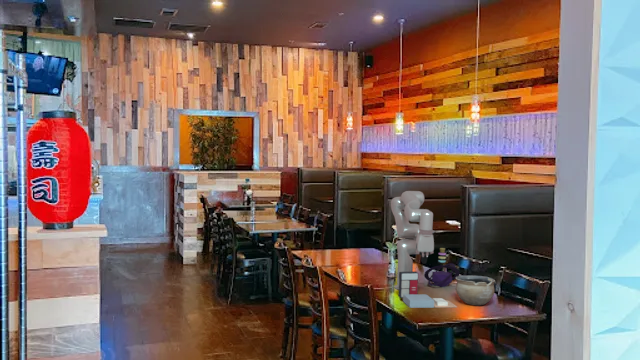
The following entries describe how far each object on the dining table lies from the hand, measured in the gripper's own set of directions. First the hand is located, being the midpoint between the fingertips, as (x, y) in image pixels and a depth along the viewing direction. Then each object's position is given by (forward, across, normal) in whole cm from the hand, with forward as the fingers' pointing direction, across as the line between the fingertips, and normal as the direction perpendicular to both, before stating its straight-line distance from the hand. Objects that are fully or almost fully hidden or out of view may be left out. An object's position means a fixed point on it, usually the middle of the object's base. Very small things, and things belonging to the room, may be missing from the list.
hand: (423, 263), depth 328 cm
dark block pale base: (+23, +6, -8) cm, 25 cm away
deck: (+22, +5, +9) cm, 24 cm away
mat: (+22, -9, +9) cm, 25 cm away
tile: (+19, -8, +9) cm, 23 cm away
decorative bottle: (+24, -26, -37) cm, 51 cm away
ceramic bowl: (+22, -29, +8) cm, 37 cm away
